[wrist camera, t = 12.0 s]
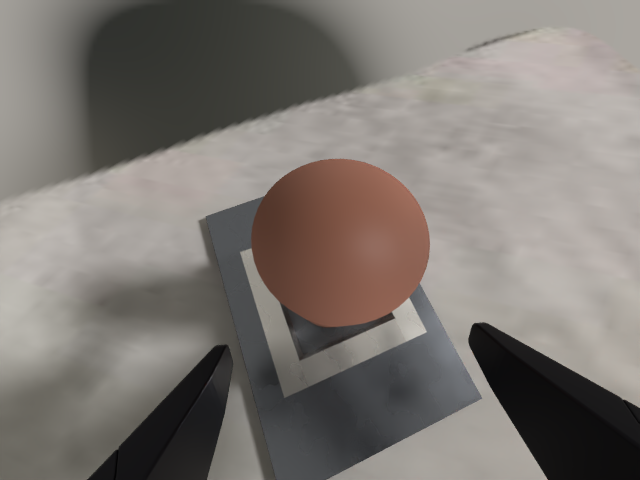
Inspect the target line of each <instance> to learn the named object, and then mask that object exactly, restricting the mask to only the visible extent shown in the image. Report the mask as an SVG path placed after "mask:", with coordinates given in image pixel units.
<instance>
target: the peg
mask: <svg viewBox="0 0 640 480" xmlns="http://www.w3.org/2000/svg"><path fill="white" fill-rule="evenodd" d="M251 246H252V254H253V259H254V263H255V265H256V268H257V271H258V273H259V275H260V277H261V279H262V281H263V283H264V284H265V285H266V287H267V288H268V290H269V291H270V292H271V293H272V294H273V295H274V297H275V298H276V299H277V300H278V301H279V302H281V303H282V304H283V305H284V306H286V307H287V308H288V309H290V310H291V311H293V312H295V313H296V314H298V315H300V316H301V317H303V318H305V319H306V320H308V321H309V322H311V323H313V324H315V325H317V326H320V327H326V328H329V327H340V326H350V325H356V324H363V323H367V322H370V321H373V320H376V319H379V318H381V317H383V316H385V315H387V314H389V313H390V312H392V311H393V310H395V309H396V308H398V307H399V306H400V305H401V304H403V303H404V302H405V301H406V300H407V299H408V298H409V297H410V296H411V294H412V293H413V292H414V291H415V289H416V288H417V286H418V284H419V283H420V281H421V279H422V277H423V275H424V272H425V270H426V267H427V262H428V258H429V249H430V241H429V231H428V226H427V222H426V219H425V216H424V214H423V212H422V210H421V208H420V206H419V204H418V202H417V201H416V199H415V198H414V196H413V195H412V194H411V193H410V191H409V190H408V189H407V188H406V187H405V186H404V185H403V184H402V183H401V182H400V181H399V180H397V179H396V178H395V177H393V176H392V175H390V174H389V173H387V172H385V171H384V170H382V169H380V168H378V167H375V166H373V165H370V164H367V163H364V162H360V161H355V160H348V159H328V160H320V161H316V162H312V163H309V164H306V165H304V166H301V167H299V168H297V169H295V170H293V171H291V172H290V173H288V174H287V175H285V176H284V177H282V178H281V179H280V180H279V181H278V182H276V183H275V184H274V186H273V187H272V188H271V189H270V190H269V191H268V192H267V194H266V195H265V197H264V198H263V200H262V201H261V203H260V205H259V207H258V209H257V212H256V215H255V217H254V222H253V226H252V234H251Z"/></svg>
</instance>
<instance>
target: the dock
mask: <svg viewBox="0 0 640 480" xmlns="http://www.w3.org/2000/svg"><path fill="white" fill-rule="evenodd" d="M264 197H265V196H264ZM264 197H261V198H258V199H255V200H252V201H249V202H246V203H243V204H240V205H237V206H235V207H232V208H229V209H226V210H223V211H220V212H217V213H214V214H211V215H208V216H206V220H207V223H208V227H209V231H210V235H211V238H212V242H213V246H214V250H215V253H216V257H217V261H218V265H219V268H220V272H221V276H222V279H223V283H224V287H225V291H226V294H227V298H228V302H229V306H230V309H231V313H232V317H233V321H234V324H235V328H236V332H237V335H238V339H239V343H240V347H241V350H242V354H243V358H244V362H245V365H246V369H247V373H248V377H249V380H250V384H251V388H252V391H253V395H254V399H255V403H256V406H257V410H258V414H259V418H260V421H261V425H262V429H263V432H264V436H265V440H266V444H267V447H268V451H269V455H270V459H271V462H272V466H273V470H274V474H275V477H276V480H327V479H328V478H330V477H332V476H334V475H336V474H338V473H340V472H342V471H344V470H346V469H348V468H349V467H351V466H353V465H355V464H357V463H359V462H361V461H363V460H365V459H367V458H369V457H371V456H372V455H374V454H376V453H378V452H380V451H382V450H384V449H386V448H388V447H390V446H392V445H394V444H395V443H397V442H399V441H401V440H403V439H405V438H407V437H409V436H411V435H413V434H415V433H416V432H418V431H420V430H422V429H424V428H426V427H428V426H430V425H432V424H434V423H436V422H438V421H439V420H441V419H443V418H445V417H447V416H449V415H451V414H453V413H455V412H457V411H459V410H461V409H462V408H464V407H466V406H468V405H470V404H472V403H474V402H476V401H478V400H480V399H482V397H481V395H480V394H479V392H478V390H477V388H476V386H475V384H474V383H473V381H472V379H471V377H470V375H469V373H468V372H467V370H466V368H465V366H464V364H463V362H462V360H461V359H460V357H459V355H458V353H457V351H456V349H455V348H454V346H453V344H452V342H451V340H450V338H449V337H448V335H447V333H446V331H445V329H444V327H443V326H442V324H441V322H440V320H439V318H438V316H437V315H436V313H435V311H434V309H433V307H432V305H431V304H430V302H429V300H428V298H427V296H426V294H425V293H424V291H423V289H422V287H421V285H420V283H419V284H418V286H417V288H416V289H415V291H414V292H413V293H412V294H411V296H410V297H409V298H408V299H407V300H406V301H405V302H404V303H403V304H401V305H400V306H399V307H398V308H396V309H395V310H393V311H392V312H390V313H389V314H387V315H385V316H383V317H381V318H379V319H376V320H373V321H370V322H367V323H363V324H356V325H350V326H340V327H329V328H326V327H320V326H317V325H315V324H313V323H311V322H309V321H308V320H306V319H305V318H303V317H301V316H300V315H298V314H296V313H295V312H293V311H291V310H290V309H288V308H287V307H286V306H284V305H283V304H282V303H281V302H279V301H278V300H277V299H276V298H275V297H274V295H273V294H272V293H271V292H270V291H269V290H268V288H267V287H266V285H265V284H264V283H263V281H262V279H261V277H260V275H259V273H258V271H257V268H256V265H255V263H254V259H253V254H252V246H251V234H252V226H253V222H254V217H255V215H256V212H257V209H258V207H259V205H260V203H261V201H262V200H263V198H264Z"/></svg>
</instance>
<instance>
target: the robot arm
mask: <svg viewBox="0 0 640 480" xmlns="http://www.w3.org/2000/svg"><path fill="white" fill-rule="evenodd" d="M468 342H469V346H470V348H471V350H472V352H473V354H474V356H475V358H476V360H477V362H478V364H479V366H480V368H481V370H482V372H483V374H484V375H485V377H486V379H487V381H488V383H489V385H490V387H491V389H492V390H493V392H494V394H495V395H496V397H497V399H498V400H499V402H500V403H501V405H502V407H503V408H504V410H505V411H506V413H507V415H508V416H509V418H510V419H511V421H512V423H513V424H514V426H515V428H516V429H517V431H518V432H519V434H520V436H521V437H522V439H523V440H524V442H525V444H526V445H527V447H528V448H529V450H530V452H531V453H532V455H533V456H534V458H535V460H536V461H537V463H538V464H539V466H540V468H541V469H542V471H543V473H544V474H545V476H546V477H547V479H548V480H640V408H639V407H637V406H635V405H633V404H632V403H630V402H628V401H626V400H622V398H621V397H619V396H617V395H615V394H613V393H612V392H610V391H608V390H606V389H604V388H603V387H601V386H599V385H597V384H595V383H594V382H592V381H590V380H588V379H586V378H585V377H583V376H581V375H579V374H577V373H576V372H574V371H572V370H570V369H568V368H567V367H565V366H563V365H561V364H559V363H558V362H556V361H554V360H552V359H550V358H549V357H547V356H545V355H543V354H541V353H540V352H538V351H536V350H534V349H532V348H531V347H529V346H527V345H525V344H523V343H522V342H520V341H518V340H516V339H515V338H513V337H511V336H509V335H507V334H506V333H504V332H502V331H500V330H498V329H497V328H495V327H493V326H491V325H489V324H487V323H484V322H483V323H474V324H473V325H472V328H471V331H470V335H469V338H468ZM232 368H233V360H232V356H231V353H230V349H229V347H228V345H226V344H225V345H216V346H215V347H214V348H213V349H212V350H211V351H210V352H209V353H208V354H207V355H206V356H205V357H204V358H203V359H202V360H201V361H200V362H199V363H198V364H197V365H196V366H195V367H194V369H193V370H192V371H191V372H190V373H189V374H188V375H187V376H186V377H185V378H184V379H183V380H182V381H181V382H180V383H179V384H178V385H177V386H176V387H175V388H174V390H173V391H172V392H171V393H170V394H169V395H168V396H167V397H166V398H165V399H164V400H163V401H162V402H161V403H160V404H159V405H158V406H157V407H156V408H155V409H154V411H153V412H152V413H151V414H150V415H149V416H148V417H147V418H146V419H145V420H144V421H143V422H142V423H141V424H140V425H139V426H138V427H137V428H136V429H135V430H134V432H133V433H132V434H131V435H130V436H129V437H128V438H127V439H126V440H125V441H124V442H123V443H122V444H121V445H120V446H119V449H118V450H115V451H114V452H113V453H112V455H111V456H110V457H109V458H108V459H107V460H106V461H105V462H104V463H103V464H102V465H101V466H100V467H99V468H98V469H97V470H96V471H95V472H94V473H93V474H92V475H91V476H90V477H89V478H88V479H87V480H207V477H208V473H209V469H210V466H211V462H212V458H213V455H214V451H215V447H216V444H217V440H218V436H219V433H220V429H221V425H222V422H223V418H224V414H225V409H226V403H227V397H228V391H229V386H230V380H231V374H232Z"/></svg>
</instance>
